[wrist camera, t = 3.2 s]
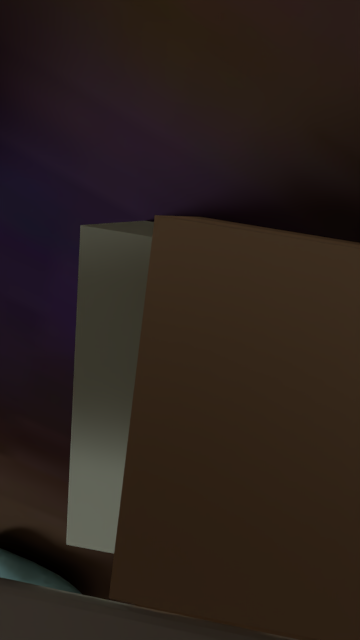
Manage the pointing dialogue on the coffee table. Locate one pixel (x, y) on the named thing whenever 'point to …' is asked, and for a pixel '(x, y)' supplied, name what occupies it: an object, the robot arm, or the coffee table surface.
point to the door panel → (104, 374)
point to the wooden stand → (245, 432)
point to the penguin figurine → (31, 572)
